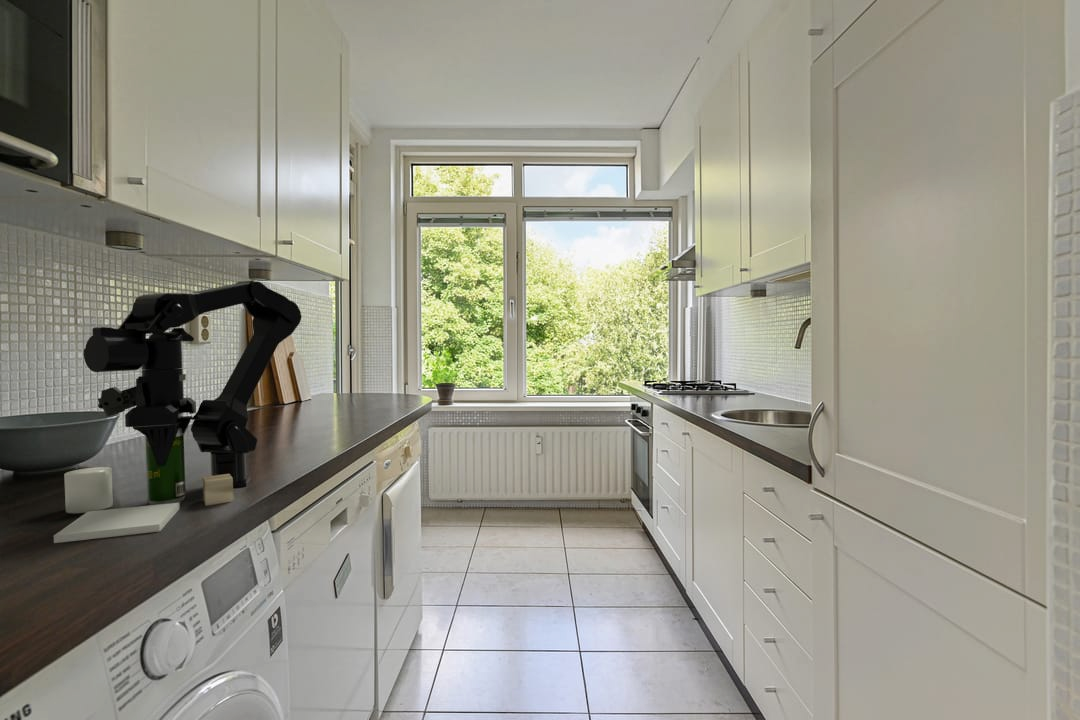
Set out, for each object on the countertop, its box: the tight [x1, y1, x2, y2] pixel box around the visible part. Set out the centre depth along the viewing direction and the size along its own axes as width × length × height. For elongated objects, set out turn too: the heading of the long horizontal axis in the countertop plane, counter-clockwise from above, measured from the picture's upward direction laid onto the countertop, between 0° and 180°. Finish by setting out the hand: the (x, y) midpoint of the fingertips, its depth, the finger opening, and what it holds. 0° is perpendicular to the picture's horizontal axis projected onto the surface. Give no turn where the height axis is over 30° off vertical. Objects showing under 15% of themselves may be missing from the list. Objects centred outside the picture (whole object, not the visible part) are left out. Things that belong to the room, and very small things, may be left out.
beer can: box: [144, 428, 187, 505], centre depth 96 cm, size 5×5×12 cm
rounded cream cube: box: [63, 466, 114, 514], centre depth 93 cm, size 6×6×6 cm
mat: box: [53, 502, 181, 544], centre depth 84 cm, size 12×12×1 cm
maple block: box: [202, 474, 234, 506], centre depth 96 cm, size 4×4×4 cm
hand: (165, 462), depth 96 cm, fingers closed on beer can, 5 cm apart
